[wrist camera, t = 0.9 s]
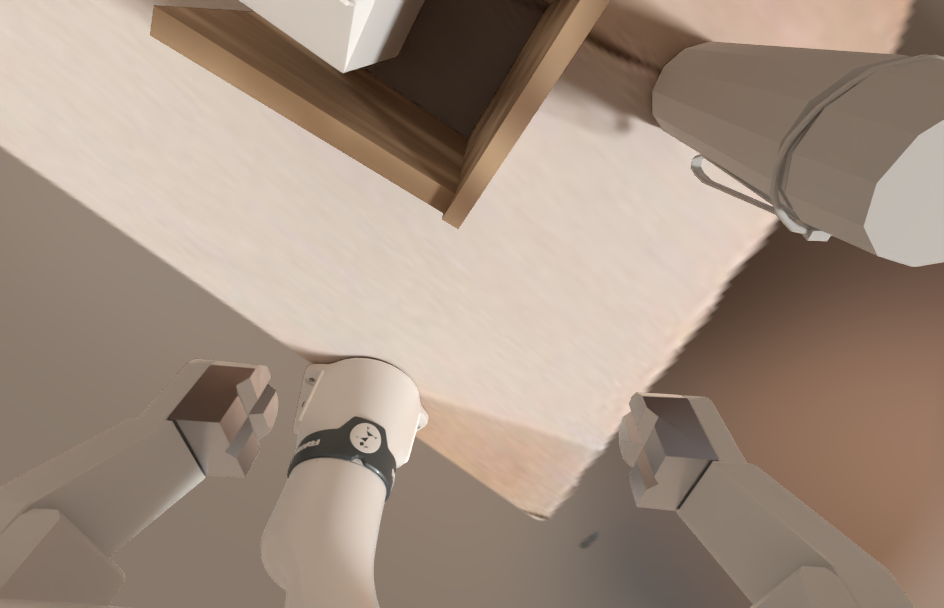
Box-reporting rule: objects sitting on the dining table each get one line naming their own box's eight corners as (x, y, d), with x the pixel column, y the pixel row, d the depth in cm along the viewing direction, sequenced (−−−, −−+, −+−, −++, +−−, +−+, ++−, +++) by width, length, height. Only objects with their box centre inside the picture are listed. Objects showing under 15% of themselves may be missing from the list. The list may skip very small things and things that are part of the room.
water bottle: (656, 39, 33) (929, 59, 12) (755, 41, 33) (1202, 65, 12) (629, 155, 38) (789, 308, 17) (714, 158, 38) (978, 315, 17)
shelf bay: (470, 160, 39) (458, 228, 26) (276, 31, 34) (136, 35, 21) (573, -6, 31) (629, -29, 18) (343, -203, 26) (191, -434, 13)
